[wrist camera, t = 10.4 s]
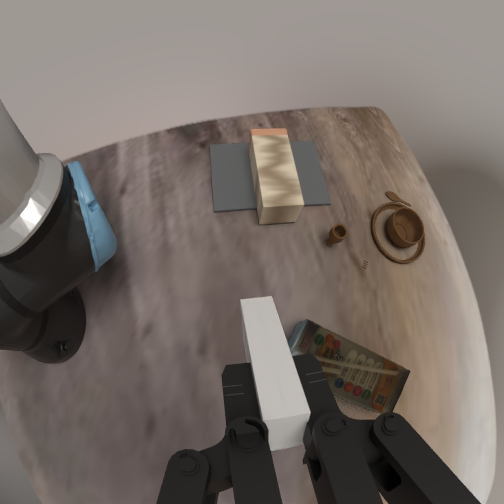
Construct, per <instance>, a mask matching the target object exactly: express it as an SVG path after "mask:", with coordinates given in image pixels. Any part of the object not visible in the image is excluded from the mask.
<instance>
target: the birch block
mask: <svg viewBox="0 0 504 504" xmlns="http://www.w3.org/2000/svg"><path fill="white" fill-rule="evenodd" d="M249 157H250V164H251V171H252V177H253V184H254V191H255V198H256V205H257V212H258V219H259V225H260V224H273V223H286V222H296V220H297V218H298V216H299V214H300V212H301V210H302V208H303V206H304V201H303V197H302V192H301V188H300V183H299V179H298V175H297V171H296V167H295V162H294V158H293V154H292V150H291V146H290V143H289V139H288V135H287V131H286V129H251V133H250V142H249Z"/></svg>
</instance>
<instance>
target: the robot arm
mask: <svg viewBox="0 0 504 504" xmlns="http://www.w3.org/2000/svg"><path fill="white" fill-rule="evenodd" d="M117 246H118V243H117V239H116V236H115V234H114V232H113V230H112V228H111V226H110V224H109V222H108V220H107V218H106V216H105V214H104V212H103V210H102V208H101V206H100V204H99V202H98V200H97V198H96V196H95V193H94V191H93V189H92V187H91V185H90V183H89V180H88V178H87V176H86V174H85V172H84V169H83V167H82V165H81V163H80V162H79V161H74V162H72V163H68V164H67V165H66V167H64V166H63V164H62V163H61V161H60V160H59V159H58V158H57V157H56V156H55V155H53V154H49V153H41V154H36V153H35V152H34V151H33V149H32V148H31V146H30V145H29V143H28V142H27V141H26V139H25V138H24V136H23V135H22V133H21V132H20V130H19V129H18V127H17V126H16V124H15V122H14V121H13V120H12V118H11V117H10V115H9V113H8V112H7V110H6V108H5V107H4V105H3V103H2V102H1V100H0V349H2V350H13V351H22V352H24V353H26V354H27V355H29V356H31V357H32V358H34V359H36V360H38V361H40V362H43V363H61V362H64V361H66V360H68V359H69V358H71V357H72V356H73V355H74V354H75V353H76V351H77V350H78V348H79V346H80V344H81V342H82V340H83V336H84V332H85V324H86V317H85V309H84V305H83V301H82V299H81V296H80V294H79V293H78V291H77V289H76V288H75V287H76V286H77V285H78V284H80V283H81V282H82V281H84V280H85V279H86V278H88V277H89V276H90V275H92V274H93V273H95V272H97V271H98V270H99V267H101V266H102V265H103V264H104V263H105V262H107V261H108V260H109V259H110V258H111V257H112V256H113V255H114V254H115V253H116V251H117ZM240 301H241V315H242V329H243V342H244V348H245V353H246V359H247V363H242V364H232V365H226V366H225V369H224V371H223V373H222V385H223V395H224V406H225V416H226V426H227V427H226V431H225V436H224V438H223V439H222V441H220V442H219V443H218V444H216V445H214V446H212V447H210V448H207V449H204V450H201V451H195V450H193V449H184V450H181V451H178V452H176V453H175V454H174V455H173V456H172V457H171V459H170V460H169V462H168V466H167V469H166V472H165V476H164V479H163V483H162V486H161V490H160V493H159V496H158V500H157V503H156V504H217V500H218V495H219V492H221V491H224V490H226V489H229V488H232V487H233V491H234V499H235V504H282V500H281V495H280V491H279V487H278V482H277V478H276V473H275V469H274V464H273V460H272V455H271V451H274V450H280V449H286V448H291V447H296V446H301V445H302V443H303V442H304V445H305V449H306V452H305V455H304V458H303V464H306V463H307V466H308V470H309V473H310V477H311V480H312V484H313V487H314V491H315V494H316V498H317V501H318V504H383V502H382V499H381V497H380V494H381V495H382V496H383V497H384V499H385V500H386V501H387V503H388V504H481V503H480V502H479V501H478V500H477V499H476V498H475V496H474V495H473V494H472V493H471V492H470V491H469V490H468V489H467V488H466V486H465V485H464V484H463V483H462V482H461V481H460V480H459V479H458V477H457V476H456V475H455V474H454V473H453V472H452V471H451V470H450V469H449V467H448V466H447V465H446V464H445V463H444V462H443V461H442V460H441V459H440V457H439V456H438V455H437V454H436V453H435V452H434V451H433V450H432V449H431V447H430V446H429V445H428V444H427V443H426V442H425V441H424V440H423V439H422V437H421V436H420V435H419V434H418V433H417V432H416V431H415V430H414V429H413V427H412V426H411V425H410V424H409V423H408V422H407V421H406V420H405V419H404V418H403V417H402V416H401V415H399V414H397V413H394V412H386V413H383V414H381V415H380V416H378V417H377V418H376V420H357V419H352V418H349V417H347V416H346V415H344V414H343V413H342V412H341V411H340V409H339V407H338V405H337V403H336V400H335V398H334V395H333V393H332V391H331V388H330V386H329V383H328V381H327V380H326V376H325V374H324V372H323V369H322V367H321V364H320V362H319V360H318V359H317V358H316V357H314V356H313V355H312V354H311V353H307V354H301V355H295V356H292V355H291V352H290V349H289V346H288V343H287V340H286V337H285V334H284V331H283V328H282V325H281V322H280V319H279V316H278V313H277V311H276V308H275V305H274V302H273V299H272V296H269V297H260V298H250V299H241V300H240ZM378 491H379V492H380V494H379V492H378Z"/></svg>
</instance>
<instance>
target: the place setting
mask: <svg viewBox="0 0 504 504" xmlns="http://www.w3.org/2000/svg"><path fill="white" fill-rule="evenodd" d="M386 195H387V196H388V197H389V198H390V199H391V200H393V201H400V202H402V203H404V204H406V205H408V206H410V207H411V205H410V204H408V203H407V202H405V201H403V200H401V199H400V198H399V197H398V196H397V195H396V194H395V193H393V192H390V191H388V192H386ZM387 209H395V210H396V211H395V212H394V213H393V214H392V215H391V216H390V217H389V219H388V222H387V232H388V235H389V237H390V239H391V240H392V241H393V242H394V243H395V244H396V245H398V246H400V247H403V248H408V247H411V246H413V245H415V244H417V243H418V248H417V251H416V253H415V254H414V255H413V256H412V257H411V258H409V259H407V260H398V259H395V258H394V257H392V256H390V255H389V254H388V253H387V252H386V251H385V250H384V249H383V247H382V246H381V244H380V243H379V241H378V238H377V236H376V232H375V220H376V218H377V216H378V215H379V214H380V213H381V212H382V211H384V210H387ZM372 234H373V238H374V240H375V243H376V245H377V246H378V248H379V249H380V251H381V252H382V253H383V254H384V255H385V256H386V257H387V258H389V259H390V260H392V261H394V262H397V263H410V262H413V261H415V260H417V259H418V258H419V257H420V256H421V254H422V252H423V250H424V246H425V234H424V226H423V223H422V220H421V219H420V217H419V216H418V214H417V213H416V212H415V211H413V210H412V209H410V208H407V207H406V206H404V205H402V204H399V203H394V202H390V203H385V204H383V205H381V206H380V207H379V208H378V209H377V210H376V212H375V214H374V216H373V219H372ZM346 236H347V229H346V227H345V226H344V225H342V224H336V225H335V226H334V227H333V228H332V229H331V230H330V232H329V239H328V240H327V241H326V245H327V246H328V247H331V246H332V244H333V243H339V242H341V241H342V240H343V239H344V238H345V237H346ZM365 262H366V261H365ZM366 263H368V262H366ZM366 263H364V264H366ZM366 265H367V264H366ZM364 266H365V265H364ZM365 267H367V266H365ZM365 267H363V268H365ZM365 269H367V268H365Z"/></svg>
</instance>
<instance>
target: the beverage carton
mask: <svg viewBox="0 0 504 504" xmlns="http://www.w3.org/2000/svg"><path fill="white" fill-rule="evenodd" d="M288 346H289V349H290V352H291V355H292V356H295V355H301V354H307V353H311V354H312V355H313V356H314V357H316V358H317V359H318V360H319V362H320V364H321V367H322V369H323V372H324V374H325V376H326V380H327V381H328V383H329V386H330V388H331V391H332V393H333V395H335V396H337V397H339V398H341V399H344V400H346V401H348V402H351V403H353V404H355V405H358V406H360V407H363V408H365V409H368V410H371V411H374V412H377V413H381V414H383V413H386V412H393V410H394V407H395V405H396V403H397V401H398V399H399V397H400V395H401V392H402V390H403V387H404V385H405V382H406V380H407V378H408V376H409V373H410V370H407V369H405V368H404V367H402V366H400V365H398V364H396V363H394V362H392V361H390V360H388V359H386V358H384V357H382V356H380V355H378V354H376V353H374V352H372V351H370V350H368V349H366V348H364V347H362V346H360V345H358V344H356V343H354V342H352V341H350V340H348V339H346V338H344V337H342V336H340V335H338V334H336V333H334V332H332V331H330V330H327V329H325V328H323V327H321V326H320V325H318V324H316V323H314V322H312V321H310V320H308V319H306V320H304V321H301V322H299V323H298V324H297V325H296V327H295V329H294V331H293V333H292V335H291V337H290V339H289V341H288Z"/></svg>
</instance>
